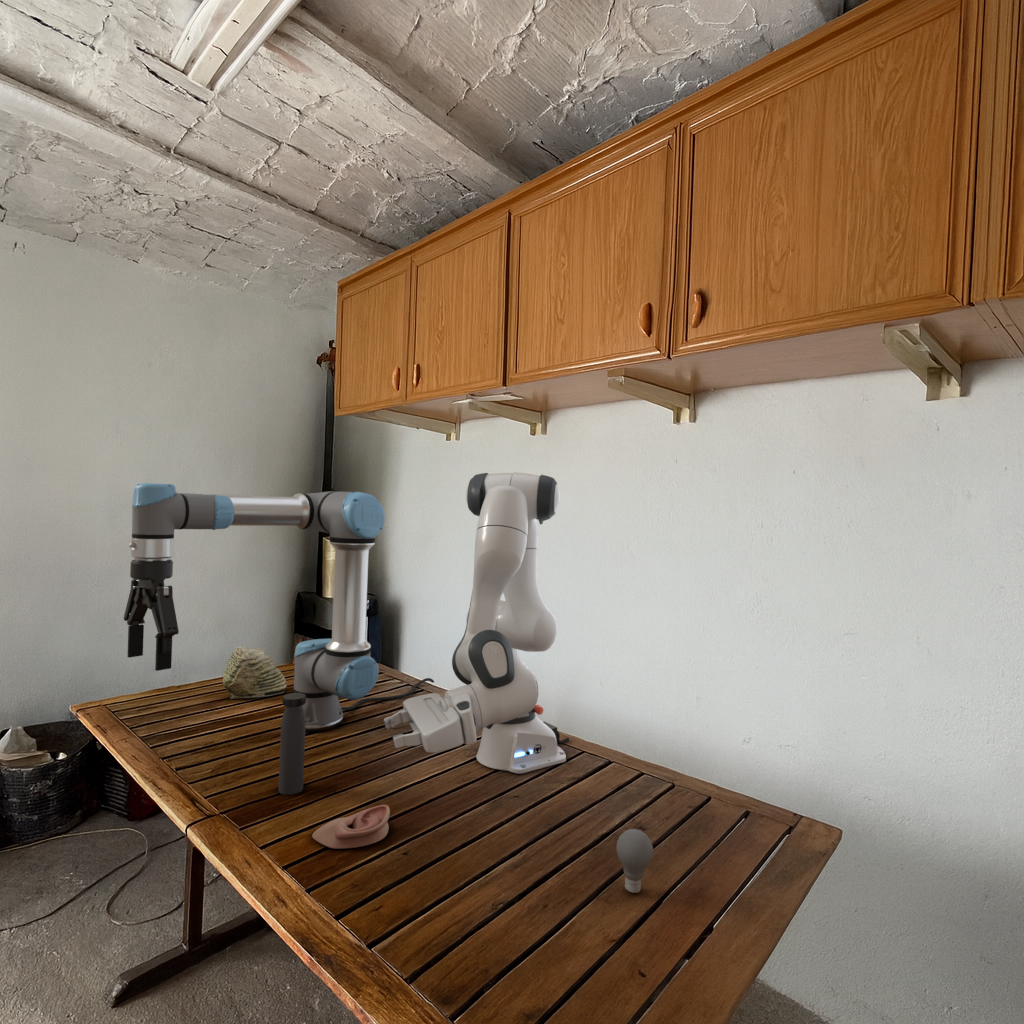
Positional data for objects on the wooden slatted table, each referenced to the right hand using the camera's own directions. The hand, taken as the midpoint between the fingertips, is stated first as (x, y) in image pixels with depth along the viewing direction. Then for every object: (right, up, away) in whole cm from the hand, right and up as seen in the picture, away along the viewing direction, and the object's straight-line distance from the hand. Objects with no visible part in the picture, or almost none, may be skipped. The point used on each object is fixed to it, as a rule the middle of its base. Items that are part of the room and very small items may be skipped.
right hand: (389, 733), depth 118 cm
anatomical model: (-7, -20, +2) cm, 21 cm away
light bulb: (+43, -22, -12) cm, 50 cm away
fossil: (-58, -16, +80) cm, 100 cm away
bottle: (-25, -19, +19) cm, 36 cm away
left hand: (-51, +10, +12) cm, 54 cm away
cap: (-24, +1, +19) cm, 30 cm away
